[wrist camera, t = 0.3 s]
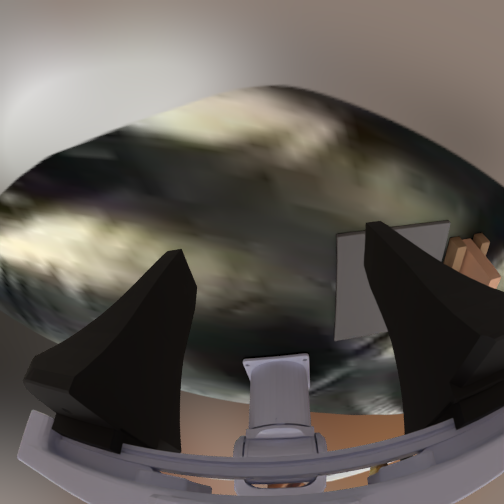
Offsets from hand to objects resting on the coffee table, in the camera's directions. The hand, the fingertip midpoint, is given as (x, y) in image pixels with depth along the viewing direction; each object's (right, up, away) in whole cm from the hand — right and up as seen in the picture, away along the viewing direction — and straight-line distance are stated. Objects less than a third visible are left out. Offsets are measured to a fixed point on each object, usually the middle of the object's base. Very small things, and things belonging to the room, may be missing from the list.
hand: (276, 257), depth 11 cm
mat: (+12, -3, +14) cm, 19 cm away
